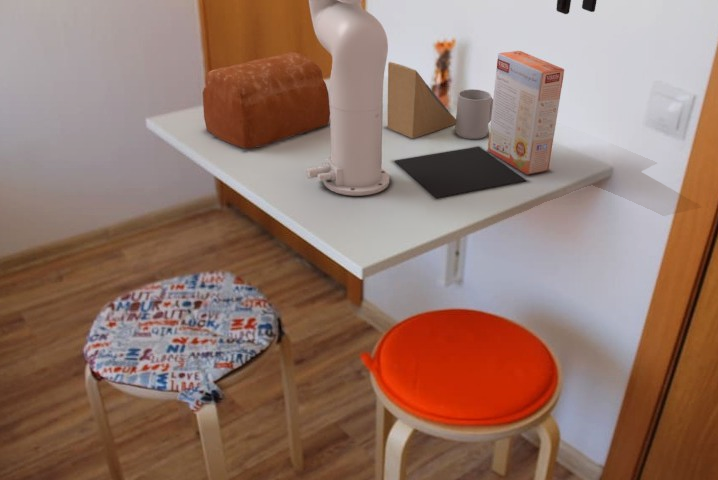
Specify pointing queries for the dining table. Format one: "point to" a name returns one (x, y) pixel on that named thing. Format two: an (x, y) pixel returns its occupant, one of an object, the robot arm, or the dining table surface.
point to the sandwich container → (413, 104)
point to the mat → (459, 172)
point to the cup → (473, 113)
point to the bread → (265, 100)
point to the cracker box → (524, 111)
